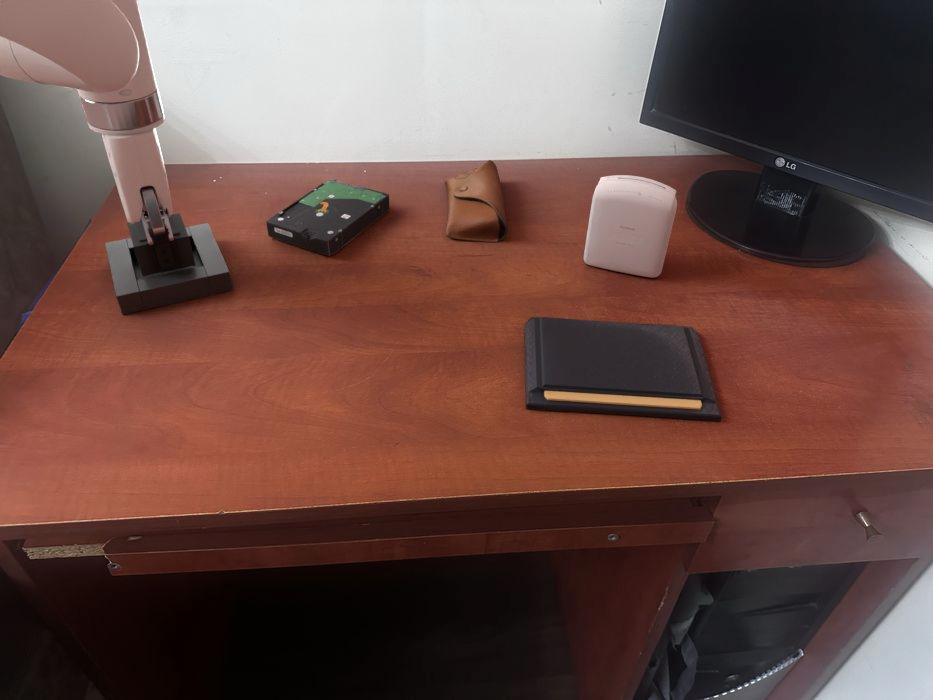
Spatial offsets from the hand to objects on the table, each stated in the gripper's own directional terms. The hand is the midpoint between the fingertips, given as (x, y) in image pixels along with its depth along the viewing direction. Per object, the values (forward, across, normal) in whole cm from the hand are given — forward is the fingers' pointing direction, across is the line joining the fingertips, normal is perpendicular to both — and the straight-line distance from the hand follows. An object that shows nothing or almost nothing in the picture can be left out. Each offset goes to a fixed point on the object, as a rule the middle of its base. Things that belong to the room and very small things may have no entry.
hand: (163, 254), depth 85 cm
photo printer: (+3, +21, +53) cm, 57 cm away
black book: (+3, +37, +40) cm, 55 cm away
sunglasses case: (+3, 0, +42) cm, 42 cm away
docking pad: (+3, 0, 0) cm, 3 cm away
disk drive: (+3, -4, +22) cm, 23 cm away
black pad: (+1, 0, 0) cm, 1 cm away
